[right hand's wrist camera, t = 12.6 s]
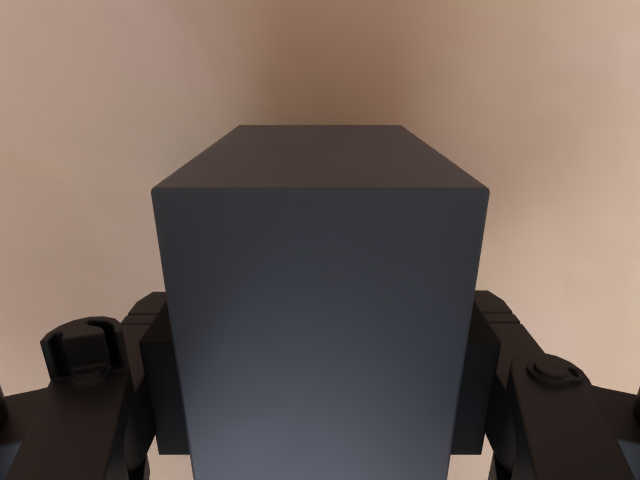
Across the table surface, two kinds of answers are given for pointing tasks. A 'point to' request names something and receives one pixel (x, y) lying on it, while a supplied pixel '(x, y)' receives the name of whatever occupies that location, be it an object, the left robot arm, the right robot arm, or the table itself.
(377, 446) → the beam
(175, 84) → the table surface
